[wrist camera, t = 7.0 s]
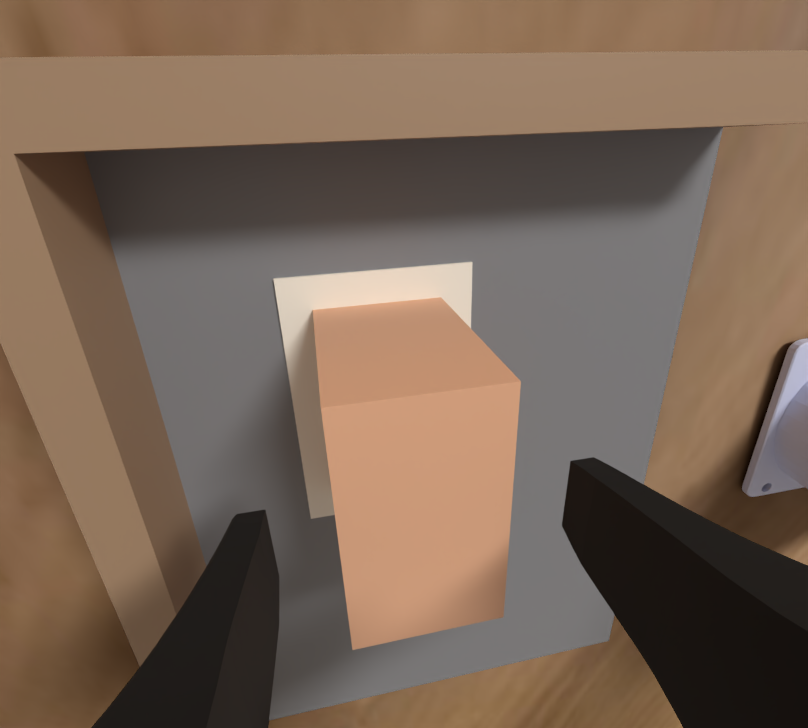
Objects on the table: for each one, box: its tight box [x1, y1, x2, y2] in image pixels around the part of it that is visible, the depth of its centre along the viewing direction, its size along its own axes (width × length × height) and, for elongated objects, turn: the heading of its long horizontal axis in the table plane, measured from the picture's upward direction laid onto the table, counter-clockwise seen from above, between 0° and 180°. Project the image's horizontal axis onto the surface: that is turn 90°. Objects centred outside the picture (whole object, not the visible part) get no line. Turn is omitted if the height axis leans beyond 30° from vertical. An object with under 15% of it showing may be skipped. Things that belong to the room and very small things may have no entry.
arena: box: [0, 50, 808, 720], centre depth 17 cm, size 20×26×4 cm
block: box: [313, 297, 521, 650], centre depth 13 cm, size 7×4×6 cm, turn 2°
